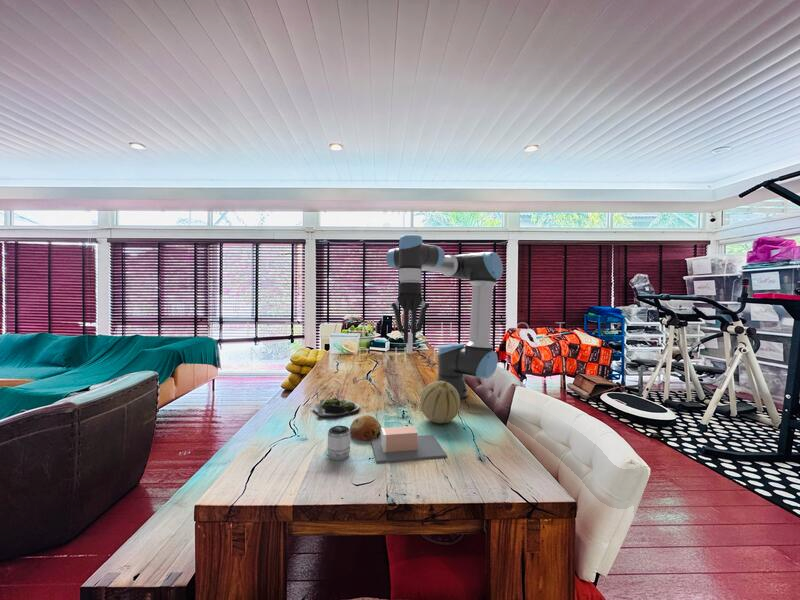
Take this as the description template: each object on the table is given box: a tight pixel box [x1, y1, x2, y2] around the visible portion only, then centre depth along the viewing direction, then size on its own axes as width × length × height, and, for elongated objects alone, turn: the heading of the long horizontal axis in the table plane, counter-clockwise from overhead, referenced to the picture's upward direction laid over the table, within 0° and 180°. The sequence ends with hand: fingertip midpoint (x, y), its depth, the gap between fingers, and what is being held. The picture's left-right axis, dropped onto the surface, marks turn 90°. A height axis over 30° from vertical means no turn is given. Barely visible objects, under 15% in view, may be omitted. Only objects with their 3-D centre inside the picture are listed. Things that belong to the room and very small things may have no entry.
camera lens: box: [327, 425, 351, 461], centre depth 96 cm, size 6×6×8 cm
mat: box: [370, 434, 448, 464], centre depth 101 cm, size 20×14×1 cm
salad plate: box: [312, 397, 361, 419], centre depth 134 cm, size 19×18×5 cm
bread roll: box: [349, 414, 382, 442], centre depth 111 cm, size 10×10×8 cm
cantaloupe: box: [419, 380, 461, 424], centre depth 122 cm, size 15×15×15 cm
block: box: [380, 425, 419, 452], centre depth 100 cm, size 5×5×10 cm
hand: (409, 352), depth 113 cm, fingers closed
